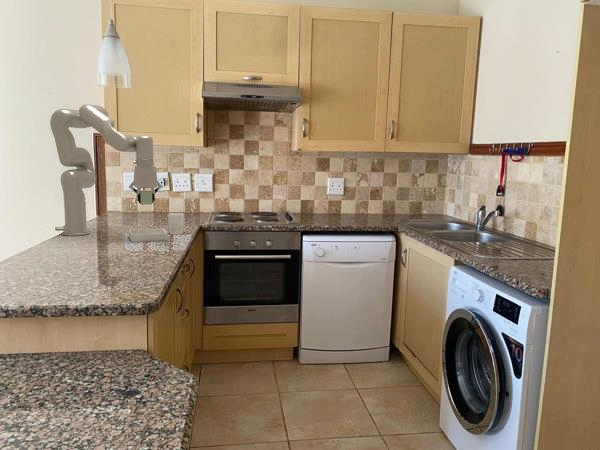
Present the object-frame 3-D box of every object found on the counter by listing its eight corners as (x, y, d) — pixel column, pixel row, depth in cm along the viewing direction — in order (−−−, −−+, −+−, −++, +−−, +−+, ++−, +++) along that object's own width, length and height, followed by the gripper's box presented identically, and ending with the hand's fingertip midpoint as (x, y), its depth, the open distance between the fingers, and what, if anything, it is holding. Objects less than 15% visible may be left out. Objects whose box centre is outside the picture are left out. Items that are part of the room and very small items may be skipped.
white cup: (165, 234, 242) (164, 214, 241) (175, 232, 249) (175, 212, 248) (177, 235, 239) (176, 215, 237) (187, 233, 246) (187, 213, 244)
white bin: (131, 242, 218) (131, 234, 217) (128, 237, 232) (128, 229, 232) (168, 240, 224) (167, 233, 224) (163, 235, 239) (162, 228, 238)
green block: (141, 204, 222) (140, 191, 221) (140, 203, 226) (139, 190, 226) (152, 204, 224) (152, 191, 223) (151, 203, 228) (150, 190, 228)
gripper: (125, 163, 216) (127, 203, 218) (165, 163, 223) (166, 203, 225) (124, 162, 223) (126, 202, 225) (163, 163, 229) (163, 201, 232)
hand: (146, 202), depth 225 cm, fingers closed on green block, 5 cm apart
